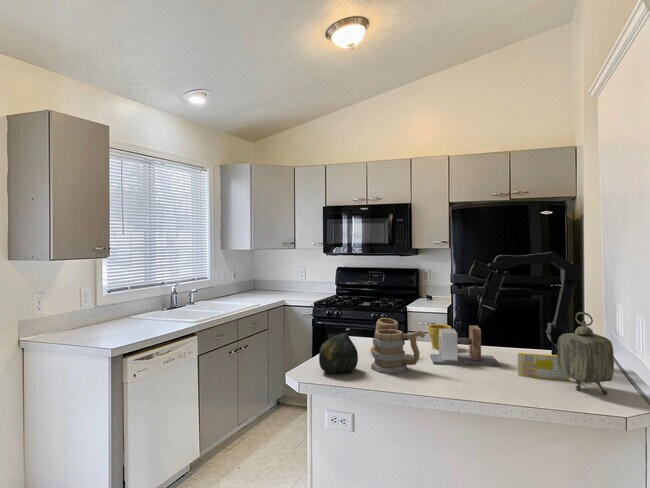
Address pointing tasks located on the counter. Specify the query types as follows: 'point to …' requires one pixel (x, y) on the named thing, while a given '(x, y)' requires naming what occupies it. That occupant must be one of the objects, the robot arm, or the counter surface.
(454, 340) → the bearing block
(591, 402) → the counter surface
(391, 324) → the stone cup
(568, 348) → the tabletop clock
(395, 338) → the tankard
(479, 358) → the wood block
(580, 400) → the counter surface
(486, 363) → the mat
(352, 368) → the squash
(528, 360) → the candy box
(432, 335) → the plant pot
